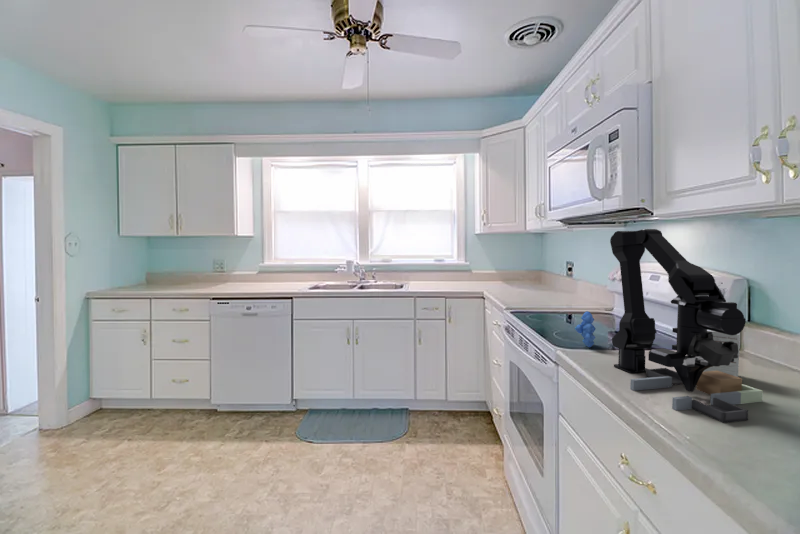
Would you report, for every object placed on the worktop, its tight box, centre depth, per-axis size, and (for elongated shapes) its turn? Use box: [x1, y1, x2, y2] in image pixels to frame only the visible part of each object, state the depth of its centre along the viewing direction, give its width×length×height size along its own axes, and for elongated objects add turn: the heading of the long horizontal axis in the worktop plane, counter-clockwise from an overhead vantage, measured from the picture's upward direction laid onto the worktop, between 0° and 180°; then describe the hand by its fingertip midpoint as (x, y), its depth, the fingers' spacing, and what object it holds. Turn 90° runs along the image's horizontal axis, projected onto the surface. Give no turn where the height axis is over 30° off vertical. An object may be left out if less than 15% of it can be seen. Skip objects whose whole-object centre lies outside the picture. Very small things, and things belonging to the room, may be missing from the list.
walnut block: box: [695, 371, 743, 396], centre depth 96 cm, size 6×6×4 cm
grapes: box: [574, 310, 596, 348], centre depth 141 cm, size 12×7×12 cm, turn 165°
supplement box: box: [703, 330, 741, 377], centre depth 109 cm, size 7×7×13 cm
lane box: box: [629, 367, 764, 424], centre depth 95 cm, size 27×23×2 cm
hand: (689, 391), depth 95 cm, fingers closed
